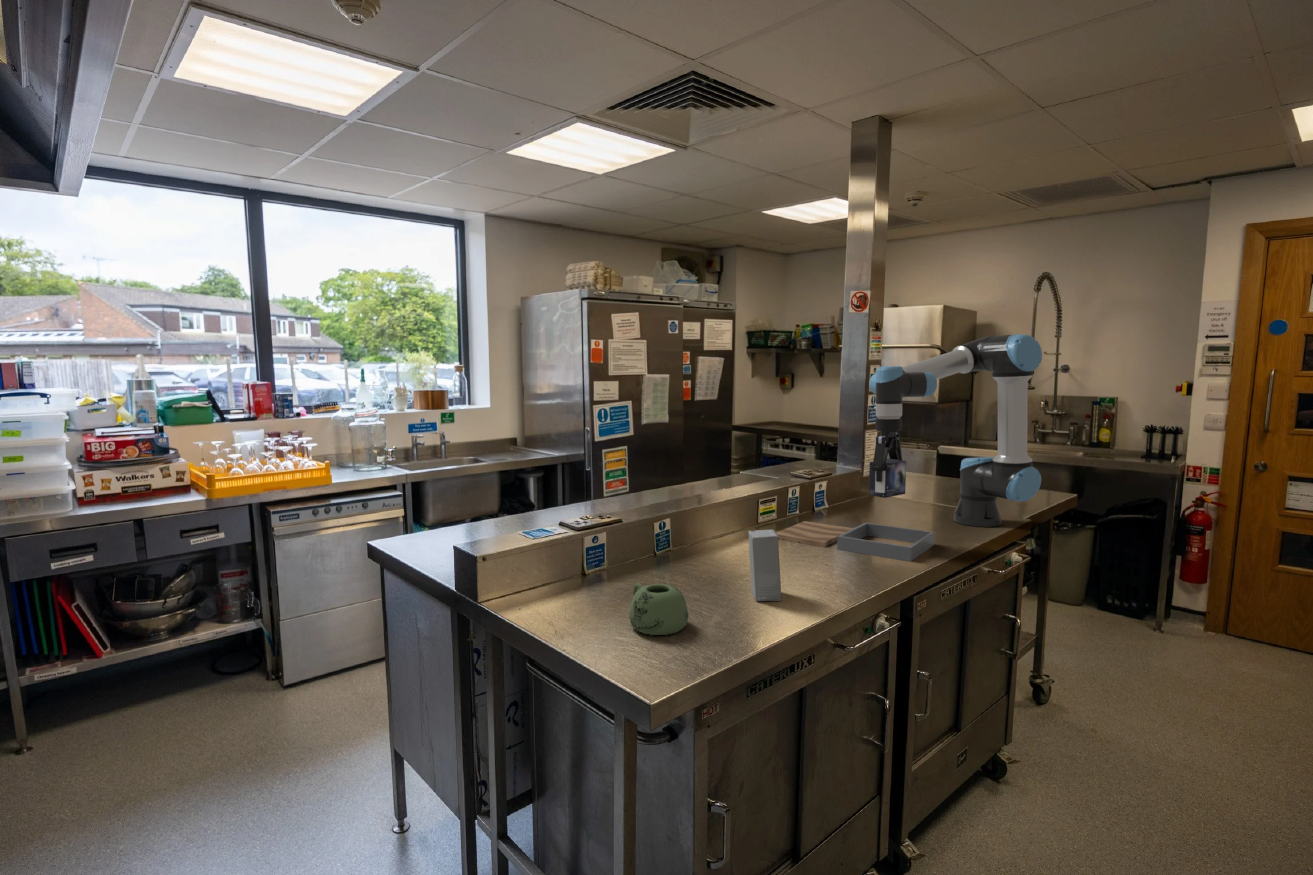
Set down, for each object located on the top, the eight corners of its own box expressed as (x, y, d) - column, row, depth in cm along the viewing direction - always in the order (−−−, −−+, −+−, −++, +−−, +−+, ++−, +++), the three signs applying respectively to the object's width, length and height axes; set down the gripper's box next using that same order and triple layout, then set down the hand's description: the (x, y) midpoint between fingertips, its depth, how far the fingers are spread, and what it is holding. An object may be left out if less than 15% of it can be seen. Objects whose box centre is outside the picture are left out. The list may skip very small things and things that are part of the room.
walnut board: (804, 525, 229) (804, 521, 229) (853, 532, 218) (853, 528, 218) (773, 538, 212) (773, 533, 212) (824, 547, 201) (824, 542, 201)
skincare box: (782, 601, 155) (782, 536, 153) (751, 602, 155) (751, 537, 153) (776, 589, 163) (776, 528, 161) (747, 590, 163) (747, 528, 162)
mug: (701, 628, 140) (700, 589, 139) (652, 644, 132) (651, 603, 131) (657, 607, 152) (656, 571, 152) (610, 620, 145) (609, 583, 144)
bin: (865, 534, 215) (865, 522, 215) (934, 544, 201) (934, 532, 201) (837, 549, 198) (837, 536, 198) (910, 561, 185) (910, 547, 184)
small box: (886, 498, 193) (886, 463, 191) (867, 495, 198) (867, 461, 197) (906, 494, 199) (907, 460, 198) (888, 491, 204) (888, 458, 203)
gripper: (890, 414, 207) (889, 482, 210) (861, 420, 189) (860, 494, 191) (914, 415, 203) (912, 484, 205) (886, 421, 184) (885, 496, 187)
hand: (887, 489), depth 198 cm, fingers closed on small box, 11 cm apart
